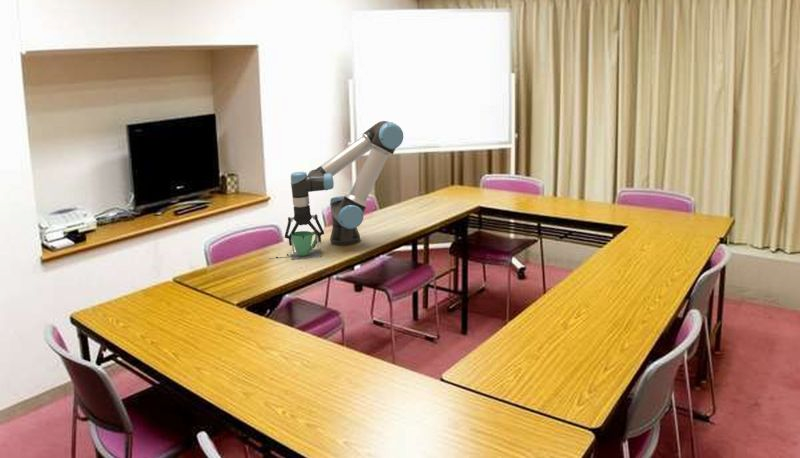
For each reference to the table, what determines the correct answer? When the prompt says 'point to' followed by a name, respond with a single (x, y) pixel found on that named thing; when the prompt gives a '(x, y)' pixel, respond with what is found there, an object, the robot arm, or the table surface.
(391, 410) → the table surface
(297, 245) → the mug
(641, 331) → the table surface
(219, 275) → the table surface
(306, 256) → the slate mat
